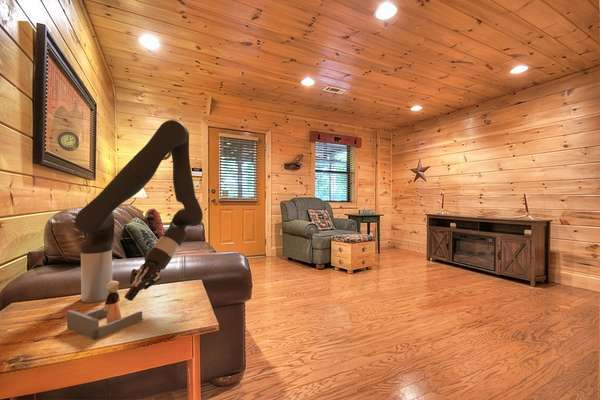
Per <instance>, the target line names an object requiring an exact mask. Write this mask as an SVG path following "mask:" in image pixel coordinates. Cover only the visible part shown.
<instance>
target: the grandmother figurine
mask: <svg viewBox="0 0 600 400" xmlns="http://www.w3.org/2000/svg"><path fill="white" fill-rule="evenodd" d="M119 285H120V282H119V281H117V280H112V281H110V282H109V283H108V284H107V285H106V287H105V288H106V289H107V290H108V292H109V295H108V296H107V299H106V300H105V302H104V306H103V308H104V311H107V310H108V312H107V316H106V324H108V323H111V322H114V321H116V320H119V319H122V314H121V309H120V305H119V302H120V300H121V299H120V295H119V293H118V291H119Z"/></svg>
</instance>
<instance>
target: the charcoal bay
mask: <svg viewBox="0 0 600 400" xmlns="http://www.w3.org/2000/svg"><path fill="white" fill-rule="evenodd" d="M107 312H108V310H107V311H104V307H101V308H99V309H95V310H92V311H89V312H86V313H81V312H79V311H76V310H73V309H70V310H67V311H66V324H67V325H66V328H67V330H70V331H73V332H75V333H77V334H80V335H82V336H84V337H87V338H89V339H91V340H94V341H95V340H98V339H101V338H102V337H105V336H108V335H111V334H112V333H113V334H114V333H115V332H117V331H120V330H122V329H124V328H127V327H130V326H132V325H134V324H137V323H140V322H141V321H143V311H141V310H140V311H137V312H135V313H132V314H129V315H127V316H125V317H121V319H119V320H116V321H114V322H111V323H108V324H107V323H106V324H104V325H101V326H100V324H99V323H100V321H99V319H101V318H104V317H107Z"/></svg>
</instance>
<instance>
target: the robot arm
mask: <svg viewBox="0 0 600 400" xmlns="http://www.w3.org/2000/svg"><path fill="white" fill-rule="evenodd" d="M169 154H171V158H172V160H171V161H172V182H173V183H172V184H173V189H174V196H175V200H176V202H178V203H181V204H182V206H183V208H180V209H179V210H178V211H176V212H175V214H174V215H173V217H172V218H171V221H170V223H169V227H168V229H166V231H165V232H164V233H163V234H162V236H161V237H160V238H159V239H158V240H157V241H156V242H155V244H154V245H153V246H152V247H151V248H150V250H149V251H148V253H146V255H145V256H144V259H143V260H144V263H143V264H142V265H140V267H139V268H138V269H136V268H134V269H132V270H131V273H130V277H129V283H128V284H130V285H131V287H130V288H129V290H127V292H126V293H125V295H124V299H126V300H127V301H130V302H132V301H133V300H134V299H135V298H136V296H137V295H138V293H140V291H142V290H147V289H149V288H150V287H152V286H154V285H155V284H156V283H157V282H159V281H160V280H162V276H161V275H160V273H161V272H162V271H163V270H166V267H168V265H169V263H170V262H171V261H172V259H173V258H174V256H175V255H176V253H177V252H178V250H179V248H180V247H181V245H182V243H183V242H184V241H185V240H186V238H187V236H188V235H187V232H186V228H187V227H197V226H199V225H201V224H202V221H203V217H204V215H203V210H202V207H201V205H200V203H199V199H197V196H196V191H195V187H194V186H195V185H194V180H193V173H192V169H191V162H190V160H191V159H190V132H189V130H188V128H187V127H186V126H185V125H184V124H182V122H180V121H178V120H174V119H169V120H166V121H164V122H163V123H162V124H160V126H159V127H158V129H157V130H156V131H155V133H154V134H153V135H152V137H151V138H150V139H149V141H148V142H147V143H146V144H145V146H144V147H142V148H141V149H140V150H139V151H138V152H137V153H136V154H135V155H134V156H133V157H132V158H131V159H130V160H129V161H128V163H126V164H125V165H124V167H122V169H120V171H119V172H117V174H116V175H115V176H114V178H113V179H111V181H110V182H108V184H107V185H106V186H104V187H105V188H103V190H101V192H100V193H99V194H98V195H97V196H95V198H93V199H92V200H91V201H90V202H89V203H87V204H86V205H85V206H84V207H83V208H82V209H81V210H79V212H78V213H77V214H76V216H75V219H74V227H75V228H76V230H77V231H78V232H80V233H82V234H87V235H86V238H85V240H84V241H83V242H82V244H80V287H81V288H80V292H81V293H80V295H81V299H80V300H81V302H82V303H90V304H91V303H97V302H101V301H106V300H107V296H108V295H109V292H108V290H107V289H106V288H105V287H106V285H107V284H108V283H109V282H110V281H113V247H112V246H113V243H114V241H115V227H116V226H115V223H116V222H115V216H114V213H113V212H114V211H115V210H116V209H117V208H118V207H119V206H121V205H122V204H123V203H125V202H127V201H128V200H129V199H131V198H132V197H134V196H136V194H138V193H139V192H141V190H142V189H144V187H145V186H146V185H147V184H148V183H149V182H150V181H151V180H152V179H153V177H154V175H156V172H157V170H158V169H159V166H160V164H161V163H162V161H163V160H164V158H165V157H166V156H167V155H169Z"/></svg>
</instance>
